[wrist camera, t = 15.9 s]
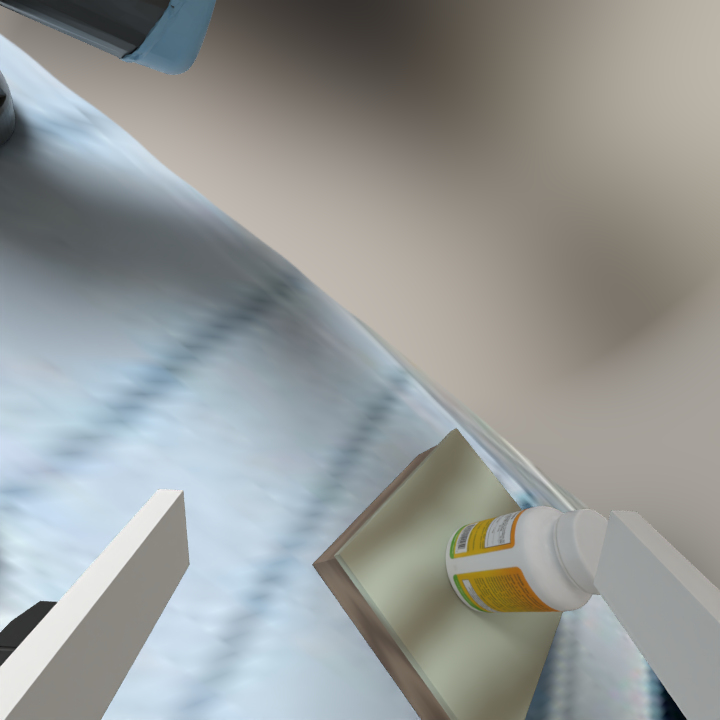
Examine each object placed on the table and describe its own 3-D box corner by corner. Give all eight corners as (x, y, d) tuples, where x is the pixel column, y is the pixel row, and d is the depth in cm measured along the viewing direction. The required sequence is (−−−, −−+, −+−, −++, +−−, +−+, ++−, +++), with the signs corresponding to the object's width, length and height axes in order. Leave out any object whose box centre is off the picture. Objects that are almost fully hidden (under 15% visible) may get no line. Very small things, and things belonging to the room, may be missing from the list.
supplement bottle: (511, 610, 27) (656, 607, 20) (450, 615, 25) (589, 614, 18) (493, 526, 30) (614, 497, 23) (437, 524, 28) (552, 491, 20)
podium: (304, 563, 27) (339, 553, 23) (418, 449, 37) (456, 428, 33) (439, 755, 26) (502, 781, 21) (520, 581, 35) (575, 576, 31)
